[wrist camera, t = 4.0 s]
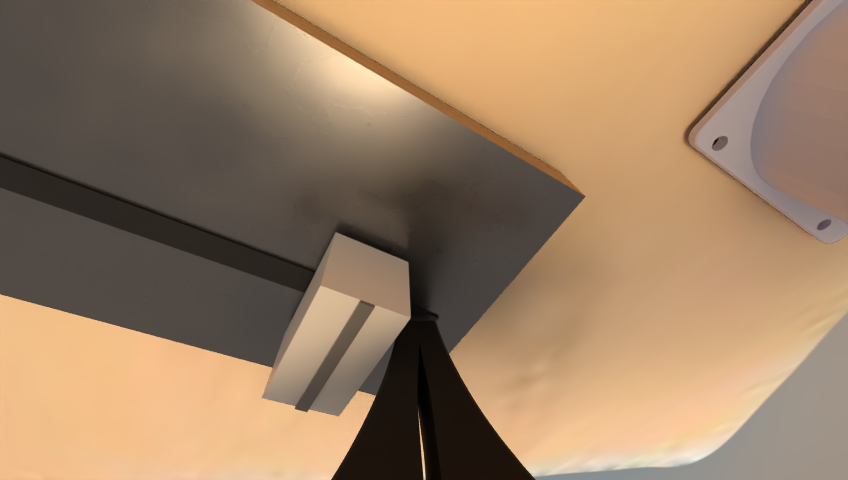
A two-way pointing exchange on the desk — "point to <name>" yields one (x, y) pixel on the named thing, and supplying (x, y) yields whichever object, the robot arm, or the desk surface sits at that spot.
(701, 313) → the desk surface
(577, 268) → the desk surface
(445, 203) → the fader console
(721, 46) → the desk surface
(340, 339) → the fader knob
